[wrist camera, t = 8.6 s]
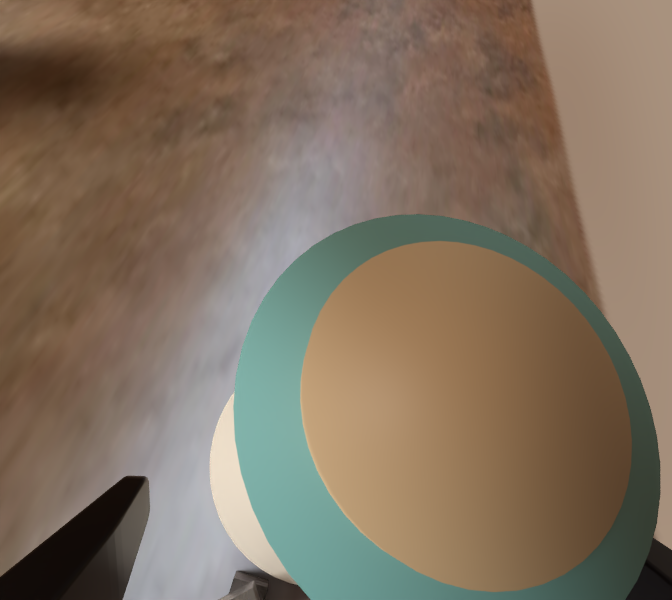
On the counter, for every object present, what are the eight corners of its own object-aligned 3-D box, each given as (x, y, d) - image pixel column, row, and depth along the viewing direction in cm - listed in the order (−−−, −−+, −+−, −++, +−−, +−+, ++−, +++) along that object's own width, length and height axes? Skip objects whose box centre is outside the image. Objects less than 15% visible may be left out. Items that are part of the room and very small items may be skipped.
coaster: (406, 612, 15) (411, 617, 14) (173, 545, 14) (169, 548, 14) (439, 382, 18) (444, 379, 18) (256, 327, 18) (256, 322, 18)
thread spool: (331, 556, 14) (588, 890, 3) (234, 461, 15) (112, 406, 4) (407, 446, 16) (741, 369, 5) (318, 368, 17) (415, 137, 6)
